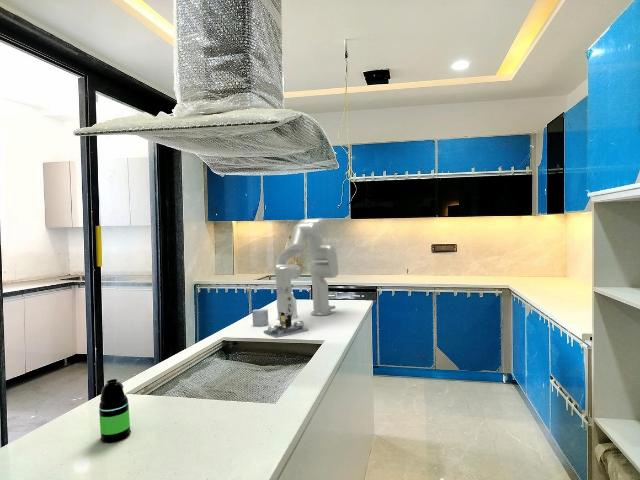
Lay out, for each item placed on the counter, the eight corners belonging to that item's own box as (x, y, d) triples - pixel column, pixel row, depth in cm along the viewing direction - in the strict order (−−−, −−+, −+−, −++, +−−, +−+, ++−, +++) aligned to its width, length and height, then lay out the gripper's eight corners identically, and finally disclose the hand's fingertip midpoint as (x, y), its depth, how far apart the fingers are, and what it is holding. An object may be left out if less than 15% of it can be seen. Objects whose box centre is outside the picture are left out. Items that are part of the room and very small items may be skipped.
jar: (289, 320, 240) (288, 294, 239) (275, 319, 244) (274, 294, 243) (299, 316, 250) (298, 291, 250) (285, 315, 254) (284, 291, 254)
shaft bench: (295, 326, 225) (295, 318, 225) (308, 330, 214) (308, 322, 214) (263, 332, 214) (263, 324, 214) (275, 337, 204) (275, 328, 203)
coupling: (287, 325, 218) (287, 313, 217) (292, 327, 214) (291, 315, 213) (279, 327, 215) (278, 315, 215) (284, 328, 211) (283, 316, 211)
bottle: (99, 446, 106) (95, 388, 105) (101, 434, 112) (98, 379, 112) (130, 439, 109) (127, 382, 108) (131, 427, 115) (127, 374, 115)
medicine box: (268, 324, 233) (267, 309, 233) (266, 326, 229) (266, 310, 229) (254, 324, 234) (254, 309, 234) (252, 326, 230) (252, 311, 230)
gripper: (298, 291, 209) (300, 327, 209) (282, 287, 223) (284, 321, 223) (285, 293, 205) (287, 329, 205) (269, 289, 219) (271, 324, 219)
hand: (285, 325), depth 214 cm, fingers closed on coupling, 4 cm apart
